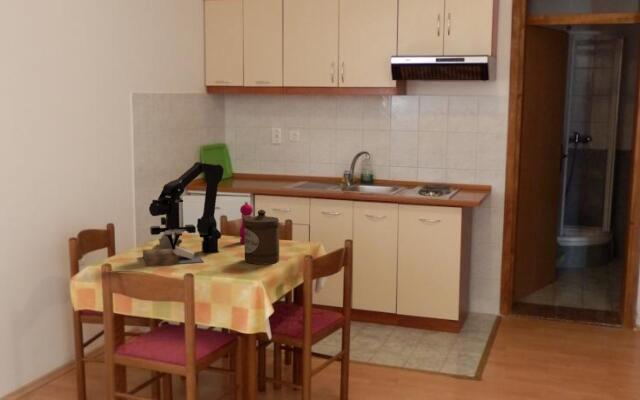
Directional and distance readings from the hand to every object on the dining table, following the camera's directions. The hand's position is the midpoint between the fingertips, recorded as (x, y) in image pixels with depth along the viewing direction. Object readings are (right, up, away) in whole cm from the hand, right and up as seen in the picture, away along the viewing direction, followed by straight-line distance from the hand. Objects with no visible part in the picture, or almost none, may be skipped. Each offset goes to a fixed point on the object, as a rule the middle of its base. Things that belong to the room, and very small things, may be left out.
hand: (173, 249), depth 315 cm
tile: (+4, -2, +1) cm, 5 cm away
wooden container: (+38, -5, +1) cm, 38 cm away
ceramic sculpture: (-7, -1, +26) cm, 27 cm away
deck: (-5, -5, -1) cm, 7 cm away
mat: (+6, -4, +2) cm, 8 cm away
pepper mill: (+28, 0, +38) cm, 47 cm away
